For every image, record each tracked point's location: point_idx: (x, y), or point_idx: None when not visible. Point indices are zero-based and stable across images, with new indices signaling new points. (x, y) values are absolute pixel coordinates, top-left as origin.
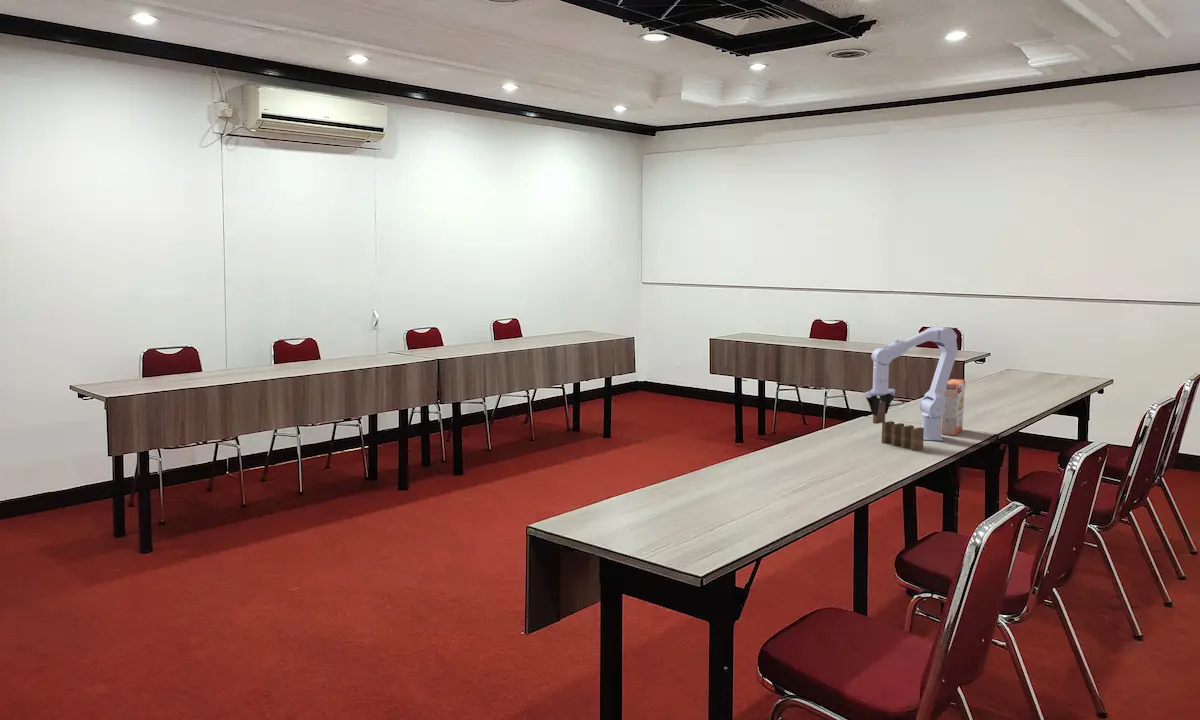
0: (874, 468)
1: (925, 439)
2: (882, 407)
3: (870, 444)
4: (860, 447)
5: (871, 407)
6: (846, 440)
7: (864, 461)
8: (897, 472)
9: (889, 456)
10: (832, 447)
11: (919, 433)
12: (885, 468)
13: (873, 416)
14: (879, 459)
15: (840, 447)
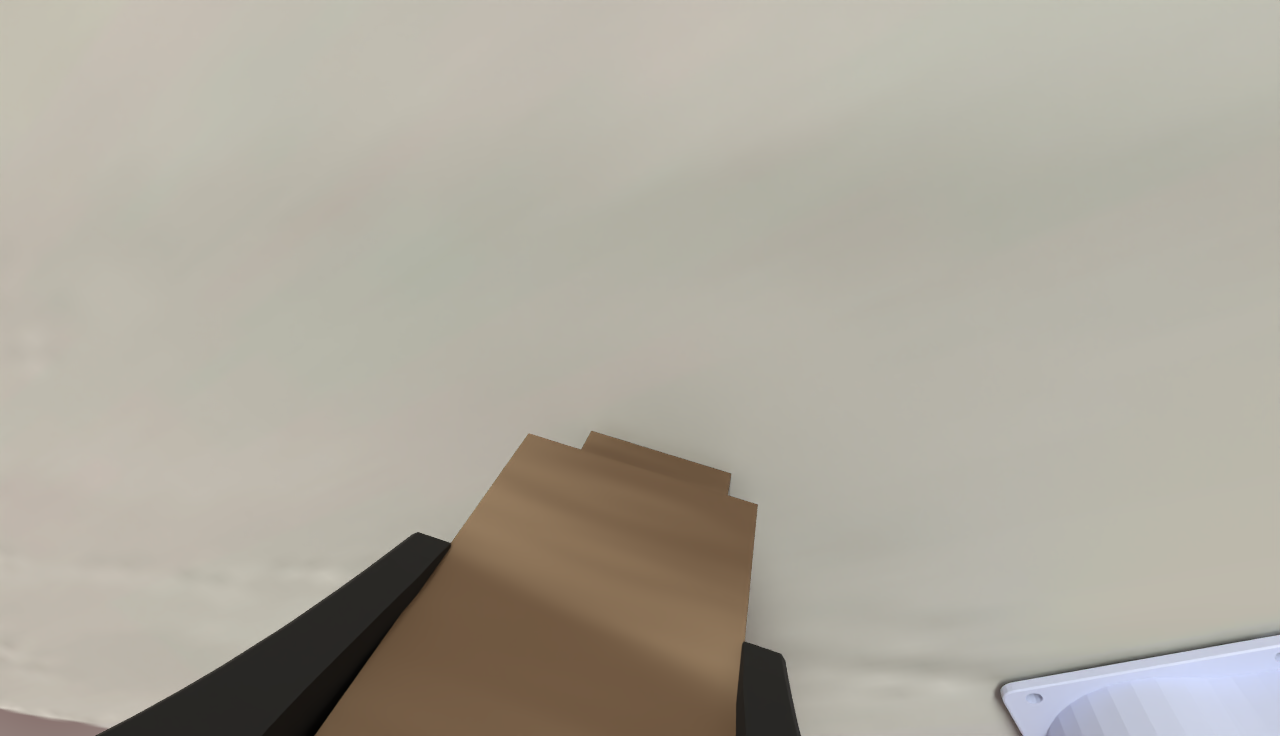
0: (24, 605)
1: (1012, 717)
2: None
3: (448, 372)
4: (276, 350)
5: (278, 670)
6: (377, 54)
7: (50, 525)
8: (90, 694)
9: (272, 603)
10: (33, 137)
11: None
12: (78, 643)
13: (472, 523)
14: (164, 577)
15: (107, 202)
